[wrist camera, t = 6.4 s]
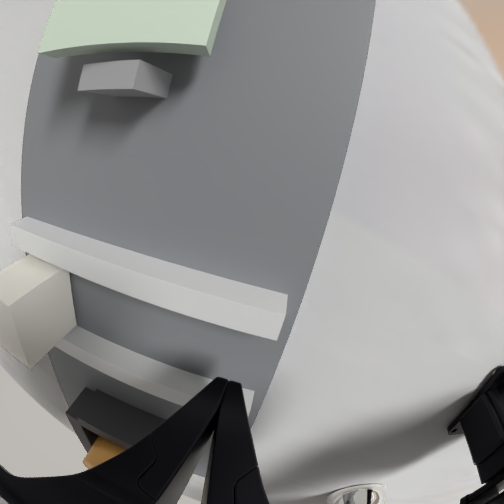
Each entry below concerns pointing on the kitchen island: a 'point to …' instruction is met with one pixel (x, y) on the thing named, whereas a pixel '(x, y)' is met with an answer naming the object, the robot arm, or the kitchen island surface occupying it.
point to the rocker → (131, 27)
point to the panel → (188, 204)
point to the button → (101, 452)
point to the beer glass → (359, 495)
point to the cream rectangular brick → (34, 308)
